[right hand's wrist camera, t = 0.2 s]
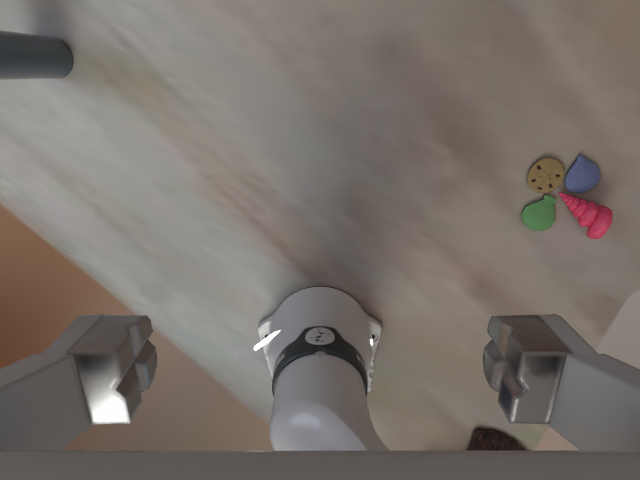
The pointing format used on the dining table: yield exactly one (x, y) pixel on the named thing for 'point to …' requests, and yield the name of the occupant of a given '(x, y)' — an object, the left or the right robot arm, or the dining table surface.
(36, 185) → the dining table surface
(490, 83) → the dining table surface
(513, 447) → the axe head
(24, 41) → the blue grey cylinder
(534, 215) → the toy pieces
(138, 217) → the dining table surface
